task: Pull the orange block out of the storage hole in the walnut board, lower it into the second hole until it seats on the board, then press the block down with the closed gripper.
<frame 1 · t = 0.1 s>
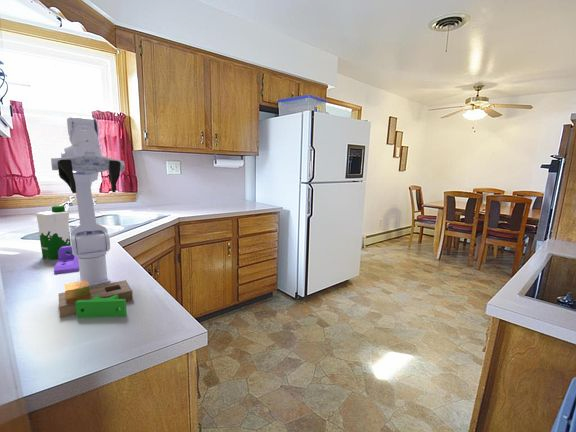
hand: (94, 189, 65), 32 cm above the countertop, tool tilted 50°, fingers open, 7 cm apart
board: (96, 302, 78), on the countertop
milk carton: (57, 256, 115), on the countertop
bracket: (69, 268, 104), on the countertop
pipe clamp: (105, 315, 72), on the countertop
orange block: (78, 305, 76), resting in board
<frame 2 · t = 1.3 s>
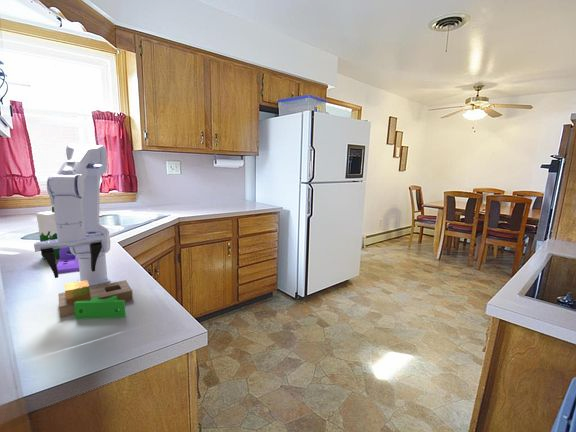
hand: (75, 273, 74), 9 cm above the countertop, tool pointing down, fingers open, 7 cm apart
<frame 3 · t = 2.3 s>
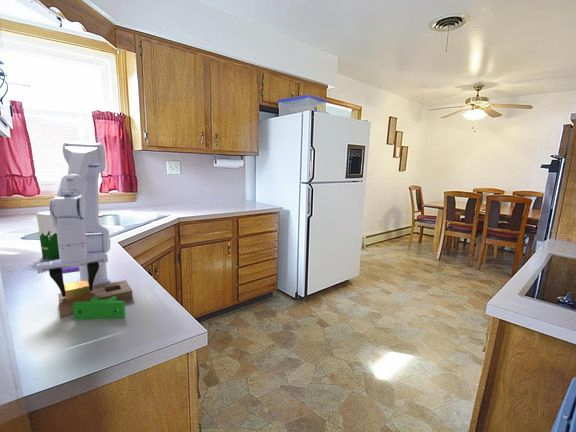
hand: (77, 292, 75), 4 cm above the countertop, tool pointing down, fingers closed on orange block, 5 cm apart
orange block: (78, 305, 76), resting in board, touching gripper
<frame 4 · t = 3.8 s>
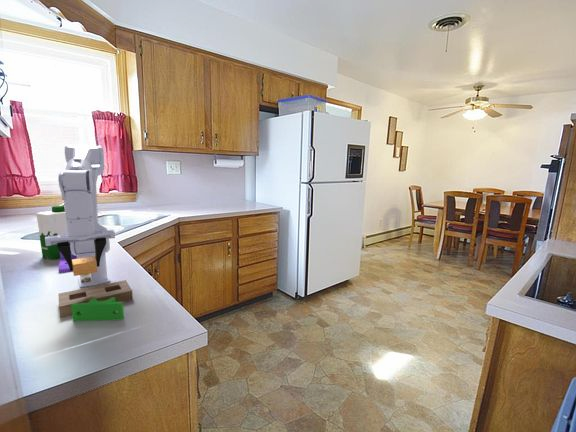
hand: (84, 267, 75), 10 cm above the countertop, tool pointing down, fingers closed on orange block, 5 cm apart
orange block: (86, 281, 76), point 7 cm above the countertop, touching gripper
when the fingers open (5 cm above the countertop, at t = 5.6 s): orange block drops 1 cm, resting on board.
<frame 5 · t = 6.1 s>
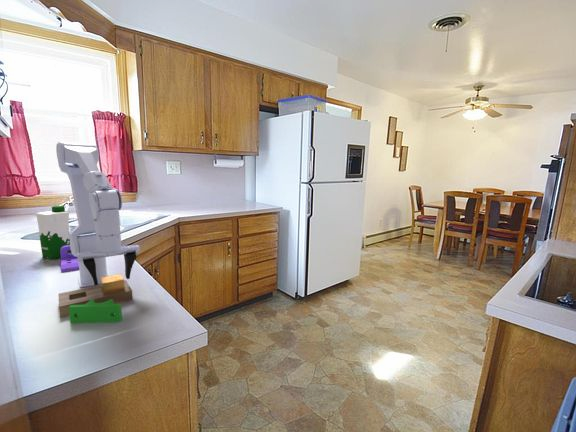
hand: (112, 281, 80), 5 cm above the countertop, tool pointing down, fingers open, 7 cm apart
orange block: (113, 297, 81), resting on board
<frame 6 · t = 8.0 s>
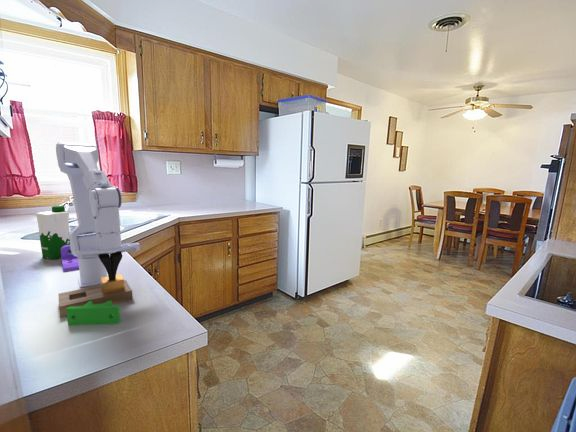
hand: (112, 278, 80), 6 cm above the countertop, tool pointing down, fingers closed, pressing on orange block
orange block: (113, 297, 81), resting on board, touching gripper
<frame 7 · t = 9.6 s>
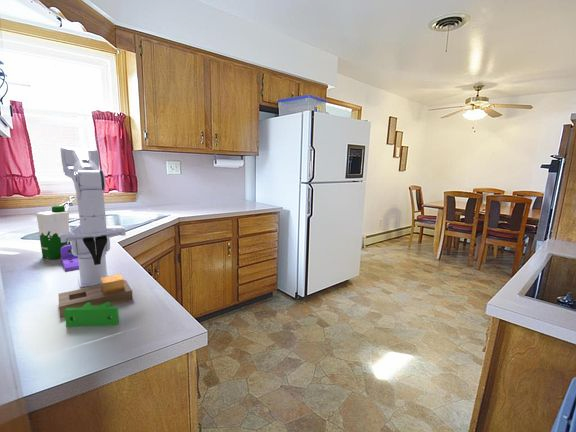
hand: (97, 263, 79), 10 cm above the countertop, tool pointing down, fingers closed
orange block: (113, 297, 81), resting on board
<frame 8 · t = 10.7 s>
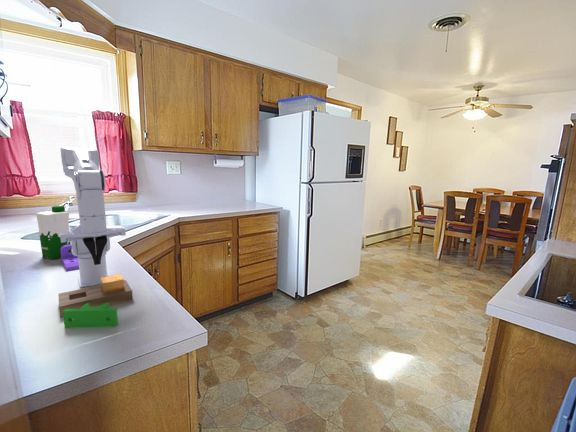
hand: (97, 263, 79), 10 cm above the countertop, tool pointing down, fingers closed
at the end: orange block 0.1 cm from the target spot on the board, point 0.2 cm above the board's base; orange block tilted 0°; the gripper is holding nothing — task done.
